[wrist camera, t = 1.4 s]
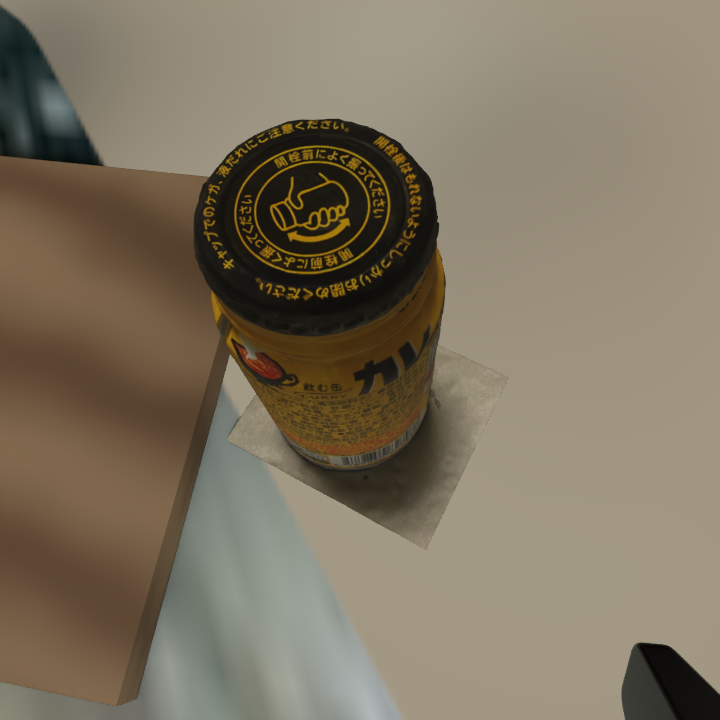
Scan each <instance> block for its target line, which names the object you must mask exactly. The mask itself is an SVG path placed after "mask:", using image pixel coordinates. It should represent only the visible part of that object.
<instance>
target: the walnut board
mask: <svg viewBox="0 0 720 720" xmlns="http://www.w3.org/2000/svg"><path fill="white" fill-rule="evenodd" d="M208 178H209V177H204V176H194V175H183V174H174V173H164V172H154V171H144V170H134V169H124V168H114V167H105V166H95V165H85V164H75V163H65V162H55V161H45V160H35V159H25V158H15V157H5V156H0V682H5V683H9V684H14V685H19V686H24V687H28V688H33V689H38V690H42V691H47V692H52V693H56V694H61V695H66V696H71V697H75V698H80V699H85V700H89V701H94V702H99V703H104V704H108V705H113V706H118V705H121V704H124V703H126V702H129V701H132V700H135V699H136V697H137V694H138V690H139V686H140V683H141V679H142V675H143V672H144V668H145V664H146V661H147V657H148V653H149V650H150V646H151V642H152V639H153V635H154V631H155V628H156V624H157V620H158V617H159V613H160V609H161V605H162V602H163V598H164V594H165V591H166V587H167V583H168V580H169V576H170V572H171V569H172V565H173V561H174V558H175V554H176V550H177V547H178V543H179V539H180V536H181V532H182V528H183V525H184V521H185V517H186V514H187V510H188V506H189V502H190V499H191V495H192V491H193V488H194V484H195V480H196V477H197V473H198V469H199V466H200V462H201V458H202V455H203V451H204V447H205V444H206V440H207V436H208V433H209V429H210V425H211V422H212V418H213V414H214V411H215V407H216V403H217V399H218V396H219V392H220V388H221V385H222V381H223V377H224V373H225V370H226V366H227V363H228V359H229V355H230V352H229V349H228V347H227V346H226V345H225V343H224V341H223V339H222V337H221V335H220V332H219V330H218V327H217V325H216V322H215V319H214V316H213V308H212V304H211V290H210V287H209V286H208V284H207V282H206V281H205V278H204V276H203V274H202V272H201V270H200V268H199V266H198V262H197V260H196V258H195V249H194V224H193V222H194V213H195V210H196V207H197V204H198V201H199V194H200V192H201V189H202V185H203V184H204V183H205V182H206V181H207V179H208Z"/></svg>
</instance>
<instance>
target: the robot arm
mask: <svg viewBox="0 0 720 720" xmlns="http://www.w3.org/2000/svg"><path fill="white" fill-rule="evenodd" d="M622 705H623V711H624V715H625V720H720V694H719V693H718V692H717V691H716V690H715V689H714V688H713V687H712V686H711V685H710V684H709V683H708V682H707V681H706V680H705V679H704V678H703V677H702V676H701V675H700V674H699V673H698V672H697V671H696V670H695V669H694V668H693V667H692V666H690V665H689V664H688V663H687V662H686V661H685V660H684V659H683V658H682V657H681V656H680V655H679V654H678V653H677V652H676V651H675V650H674V649H672V648H671V647H669V646H667V645H663V644H652V643H637V644H635V645H634V647H633V649H632V651H631V655H630V658H629V662H628V666H627V670H626V673H625V677H624V681H623V685H622Z"/></svg>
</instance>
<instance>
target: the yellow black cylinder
mask: <svg viewBox="0 0 720 720" xmlns="http://www.w3.org/2000/svg"><path fill="white" fill-rule="evenodd" d="M437 219H438V216H437V210H436V202H435V198H434V194H433V186H432V182H431V179H430V177H429V176H428V174H427V173H426V172H425V171H424V170H423V169H422V168H421V167H420V166H419V165H418V163H417V162H416V161H415V160H414V159H413V157H412V156H411V155H410V154H409V153H408V152H407V151H405V149H404V148H403V146H402V145H401V144H400V143H399V142H397V141H396V140H394V139H392V138H390V137H388V136H386V135H385V134H383V133H380V132H378V131H376V130H374V129H372V128H369V127H367V126H362V125H358V124H356V123H353V122H347V121H343V120H341V119H324V120H295V121H289V122H286V123H283V124H281V125H278V126H275V127H273V128H270V129H268V130H265V131H263V132H261V133H259V134H257V135H254V136H253V137H251V138H249V139H248V140H246V141H245V142H243V143H242V144H240V145H238V146H237V147H236V148H235V149H234V150H233V151H232V152H230V153H229V154H228V155H227V156H226V158H225V159H224V160H223V161H222V163H221V164H220V165H219V166H218V167H217V168H216V170H215V171H214V172H213V174H212V175H211V176H210V177H209V178H208V179H207V181H206V182H205V183H204V184H203V185H202V189H201V192H200V194H199V201H198V204H197V207H196V210H195V213H194V222H193V224H194V249H195V258H196V260H197V262H198V266H199V268H200V270H201V272H202V274H203V276H204V278H205V281H206V282H207V284H208V286H209V287H210V290H211V304H212V308H213V316H214V319H215V322H216V325H217V327H218V330H219V332H220V335H221V337H222V339H223V341H224V343H225V345H226V346H227V347H228V349H229V352H230V354H231V356H232V357H233V358H234V359H235V361H236V362H237V364H238V365H239V367H240V369H241V370H242V372H243V373H244V375H245V377H246V378H247V380H248V381H249V383H250V384H251V386H252V388H253V389H254V391H255V392H256V395H255V397H254V398H253V400H252V401H251V402H250V404H249V405H248V407H247V408H246V410H245V411H244V413H243V415H242V416H241V418H240V419H239V421H238V422H237V424H236V425H235V427H234V428H233V430H232V432H231V433H230V435H229V437H228V438H227V441H229V442H231V443H233V444H235V445H236V446H238V447H240V448H242V449H244V450H245V451H247V452H249V453H251V454H253V455H254V456H256V457H258V458H260V459H262V460H263V461H265V462H267V463H269V464H271V465H273V466H275V467H277V468H278V469H280V470H281V471H283V472H285V473H287V474H289V475H290V476H292V477H294V478H296V479H298V480H300V481H302V482H303V483H305V484H307V485H309V486H310V487H312V488H314V489H316V490H318V491H320V492H322V493H323V494H325V495H327V496H329V497H331V498H333V499H335V500H337V501H338V502H340V503H342V504H344V505H346V506H348V507H349V508H351V509H353V510H355V511H356V512H358V513H360V514H361V515H363V516H365V517H367V518H369V519H371V520H372V521H374V522H376V523H378V524H380V525H382V526H383V527H385V528H387V529H389V530H391V531H393V532H395V533H397V534H399V535H401V536H402V537H404V538H406V539H407V540H409V541H411V542H413V543H415V544H416V545H418V546H420V547H422V548H424V549H426V548H427V547H428V544H429V543H430V540H431V538H432V536H433V534H434V532H435V530H436V528H437V526H438V524H439V522H440V519H441V518H442V515H443V513H444V511H445V509H446V507H447V505H448V503H449V501H450V499H451V497H452V495H453V492H454V490H455V488H456V486H457V485H458V482H459V480H460V478H461V476H462V473H463V472H464V470H465V467H466V466H467V464H468V461H469V459H470V457H471V455H472V453H473V451H474V449H475V447H476V445H477V443H478V441H479V439H480V436H481V434H482V432H483V430H484V428H485V426H486V424H487V422H488V420H489V418H490V416H491V414H492V411H493V410H494V407H495V405H496V403H497V401H498V399H499V397H500V395H501V393H502V391H503V389H504V387H505V384H506V382H507V380H508V377H506V376H504V375H502V374H500V373H497V372H496V371H494V370H492V369H490V368H488V367H485V366H483V365H480V364H478V363H475V362H473V361H471V360H469V359H468V358H466V357H464V356H462V355H459V354H457V353H453V352H452V351H449V350H447V349H445V348H443V347H442V346H440V345H438V340H439V337H440V326H441V319H442V314H443V308H444V299H445V285H446V282H445V274H444V268H443V265H442V258H441V256H440V254H439V250H438V249H437V241H436V239H437V236H438V232H439V223H438V222H437Z"/></svg>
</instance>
